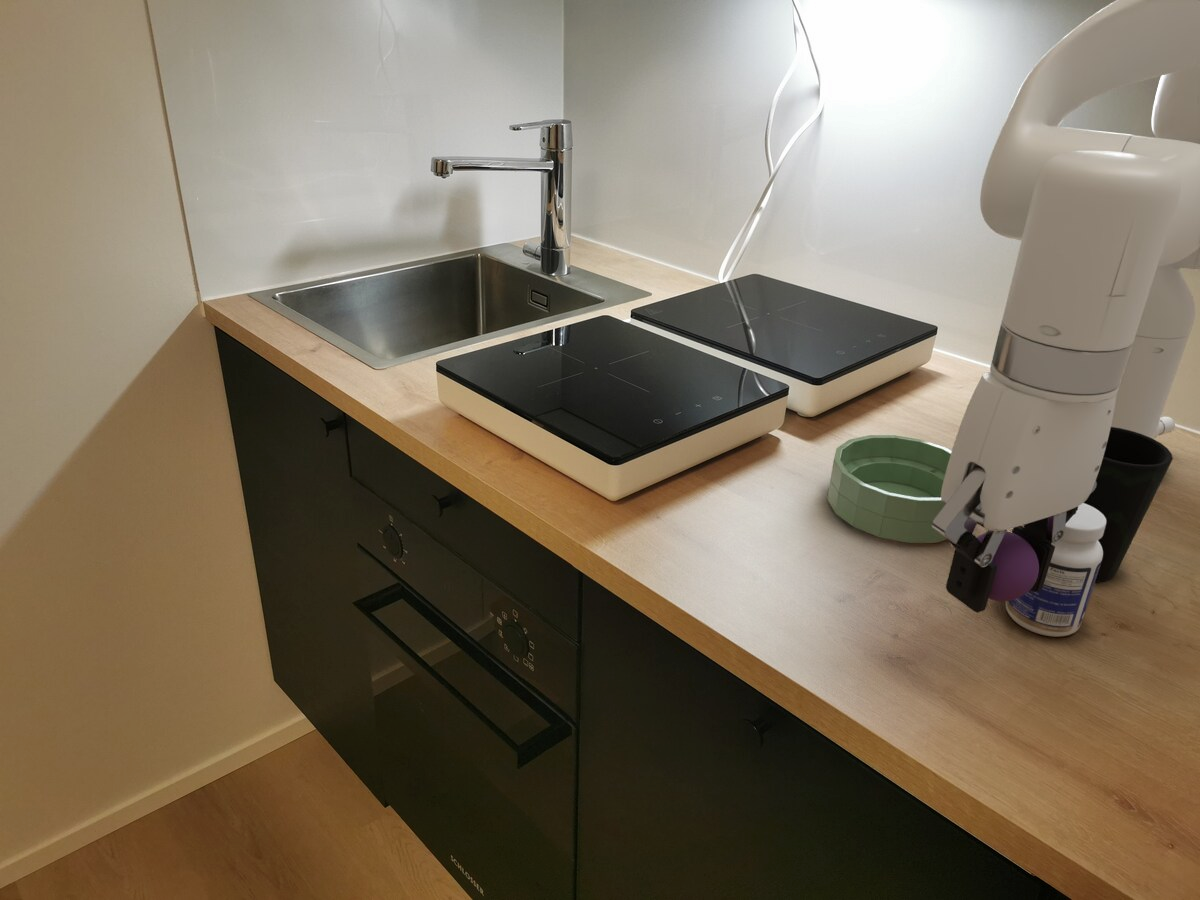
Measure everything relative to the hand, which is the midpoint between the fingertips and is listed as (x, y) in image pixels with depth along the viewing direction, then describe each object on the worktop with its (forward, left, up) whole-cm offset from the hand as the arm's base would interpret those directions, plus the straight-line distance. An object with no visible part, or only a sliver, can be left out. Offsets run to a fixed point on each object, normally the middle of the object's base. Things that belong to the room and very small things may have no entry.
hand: (993, 588), depth 66 cm
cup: (-20, -6, -7) cm, 22 cm away
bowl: (-11, -20, -7) cm, 24 cm away
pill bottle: (-10, -2, -7) cm, 12 cm away
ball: (0, 0, +2) cm, 2 cm away
